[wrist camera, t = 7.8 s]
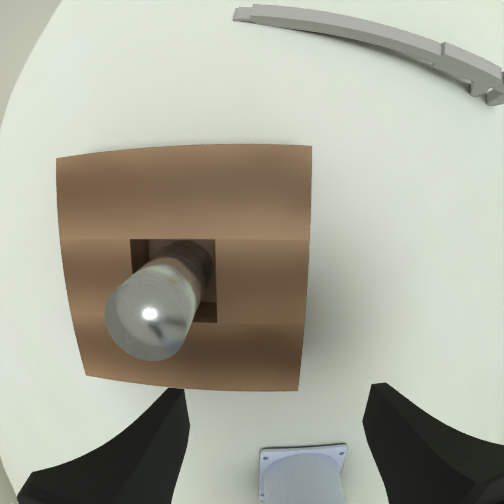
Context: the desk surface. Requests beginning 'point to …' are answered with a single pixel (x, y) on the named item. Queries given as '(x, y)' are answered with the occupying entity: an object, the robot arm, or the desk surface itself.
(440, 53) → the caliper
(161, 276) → the pin
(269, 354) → the block
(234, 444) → the desk surface
